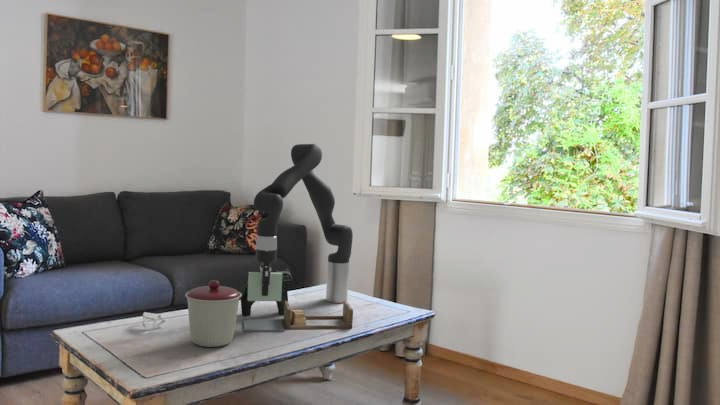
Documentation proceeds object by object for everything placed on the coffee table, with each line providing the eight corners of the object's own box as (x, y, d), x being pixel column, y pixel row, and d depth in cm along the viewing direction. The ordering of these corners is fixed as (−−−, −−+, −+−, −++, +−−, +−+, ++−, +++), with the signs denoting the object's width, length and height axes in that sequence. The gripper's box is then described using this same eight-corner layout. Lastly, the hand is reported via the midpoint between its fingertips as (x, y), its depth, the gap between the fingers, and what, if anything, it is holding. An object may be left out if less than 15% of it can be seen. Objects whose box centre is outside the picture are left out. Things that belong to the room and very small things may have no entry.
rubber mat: (243, 320, 240) (243, 319, 240) (280, 320, 243) (280, 319, 243) (244, 331, 227) (244, 330, 227) (284, 331, 230) (284, 329, 230)
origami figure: (171, 329, 225) (171, 315, 225) (151, 334, 219) (152, 320, 218) (149, 322, 232) (149, 309, 232) (129, 327, 225) (130, 313, 225)
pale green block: (247, 299, 234) (248, 272, 234) (280, 299, 237) (281, 272, 236) (247, 301, 232) (248, 273, 231) (281, 301, 234) (282, 274, 233)
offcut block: (290, 321, 244) (290, 309, 244) (301, 320, 246) (302, 309, 245) (294, 327, 237) (294, 315, 236) (306, 326, 238) (306, 314, 238)
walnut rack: (283, 318, 247) (284, 300, 246) (345, 318, 252) (346, 300, 251) (287, 329, 233) (288, 310, 232) (352, 328, 238) (353, 310, 237)
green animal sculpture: (289, 311, 257) (291, 262, 255) (292, 315, 251) (294, 265, 249) (239, 313, 251) (241, 262, 249) (241, 317, 245) (243, 265, 243)
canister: (251, 342, 215) (253, 280, 213) (210, 355, 200) (212, 289, 198) (213, 331, 225) (215, 272, 223) (172, 342, 210) (173, 279, 208)
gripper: (255, 244, 239) (253, 290, 240) (257, 250, 225) (255, 299, 226) (275, 244, 240) (273, 290, 242) (278, 251, 227) (276, 299, 228)
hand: (264, 294), depth 234 cm, fingers closed on pale green block, 3 cm apart
